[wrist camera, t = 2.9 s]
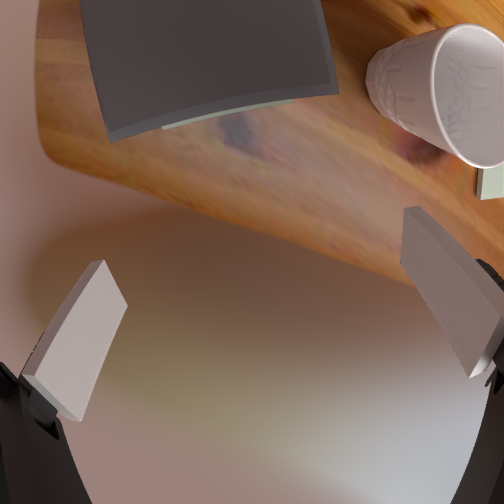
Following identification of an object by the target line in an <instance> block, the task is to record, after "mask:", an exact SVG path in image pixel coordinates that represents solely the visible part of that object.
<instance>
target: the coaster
mask: <svg viewBox="0 0 504 504" xmlns="http://www.w3.org/2000/svg"><path fill="white" fill-rule="evenodd" d="M476 197H477V198H478V199H480V200H484V199H492V198H500V197H504V163H503V164H501V165H500V166H497V167H494V168H490V169H482V168H479V169H478V182H477V192H476Z"/></svg>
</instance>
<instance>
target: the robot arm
mask: <svg viewBox="0 0 504 504" xmlns="http://www.w3.org/2000/svg"><path fill="white" fill-rule="evenodd" d="M400 264H401V265H402V267H403V268H404V270H405V271H406V273H407V274H408V276H409V277H410V279H411V280H412V282H413V283H414V285H415V286H416V288H417V289H418V291H419V292H420V294H421V296H422V297H423V299H424V300H425V302H426V303H427V305H428V307H429V308H430V310H431V311H432V313H433V315H434V316H435V318H436V320H437V321H438V323H439V325H440V326H441V328H442V330H443V332H444V333H445V335H446V337H447V339H448V340H449V342H450V344H451V346H452V348H453V349H454V351H455V353H456V355H457V357H458V358H459V361H460V362H461V364H462V366H463V368H464V370H465V372H466V374H467V376H468V378H471V377H473V376H475V375H477V374H479V373H482V372H484V371H485V370H486V369H487V368H488V366H489V364H490V362H491V361H492V359H493V361H494V363H495V364H496V367H495V369H494V371H493V372H492V374H491V375H490V377H489V378H488V380H487V382H486V384H485V386H486V387H487V386H488V385H489V383H490V382H491V386H490V391H489V396H488V400H487V404H486V408H485V412H484V416H483V419H482V423H481V427H480V430H479V433H478V437H477V440H476V443H475V446H474V448H473V452H472V454H471V457H470V460H469V463H468V465H467V467H466V470H465V473H464V475H463V477H462V480H461V482H460V484H459V487H458V489H457V491H456V493H455V495H454V497H453V499H452V502H451V504H504V280H503V279H502V277H501V276H499V274H498V273H497V272H496V271H495V270H494V269H493V268H492V267H491V266H490V265H489V264H487V263H486V262H484V261H482V260H481V259H476V260H475V259H474V258H473V257H472V256H471V255H470V254H469V253H468V252H467V251H466V250H465V249H464V248H463V247H462V246H461V245H460V244H459V243H458V242H457V241H456V240H455V239H454V238H453V237H452V236H451V235H450V234H449V233H448V232H447V231H446V230H445V229H444V228H443V227H442V226H441V225H440V224H439V223H437V222H436V221H435V220H434V219H433V218H432V217H431V216H430V215H429V214H428V213H426V212H425V211H424V210H423V209H422V208H421V207H420V206H414V207H407V208H404V215H403V233H402V246H401V257H400ZM126 308H127V304H126V302H125V300H124V298H123V296H122V294H121V293H120V291H119V289H118V287H117V285H116V283H115V281H114V279H113V277H112V275H111V273H110V271H109V269H108V267H107V265H106V263H105V260H99V261H95V262H91V264H90V265H89V266H88V268H87V269H86V270H85V272H84V273H83V274H82V276H81V277H80V279H79V280H78V282H77V283H76V284H75V286H74V287H73V289H72V290H71V292H70V293H69V295H68V296H67V298H66V299H65V301H64V302H63V304H62V305H61V307H60V308H59V310H58V311H57V313H56V315H55V316H54V318H53V319H52V321H51V323H50V324H49V326H48V327H47V329H46V331H45V332H44V333H43V334H42V336H41V338H40V339H39V341H38V344H37V345H36V346H35V348H34V349H33V352H32V353H31V355H30V357H29V358H28V360H27V362H26V364H25V366H24V368H23V370H22V372H21V373H20V375H19V377H18V379H17V378H16V377H15V376H14V375H13V373H12V372H11V371H10V370H9V369H8V368H7V367H6V366H5V364H4V363H2V362H0V504H92V502H91V500H90V498H89V496H88V494H87V492H86V489H85V487H84V485H83V482H82V480H81V478H80V475H79V473H78V470H77V468H76V465H75V463H74V460H73V457H72V455H71V452H70V449H69V446H68V443H67V440H66V437H65V434H64V431H63V428H62V424H61V422H60V420H59V419H58V418H57V417H56V414H57V412H58V411H59V412H60V413H61V414H62V415H63V416H65V417H66V418H67V419H69V420H74V421H80V422H81V421H82V419H83V416H84V413H85V410H86V407H87V404H88V401H89V398H90V396H91V393H92V390H93V388H94V385H95V382H96V380H97V377H98V375H99V372H100V369H101V367H102V364H103V361H104V359H105V357H106V354H107V352H108V350H109V347H110V345H111V342H112V340H113V337H114V335H115V333H116V330H117V328H118V326H119V324H120V321H121V319H122V317H123V314H124V313H125V310H126Z"/></svg>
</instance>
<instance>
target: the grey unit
mask: <svg viewBox="0 0 504 504" xmlns="http://www.w3.org/2000/svg"><path fill="white" fill-rule="evenodd" d="M80 8H81V15H82V22H83V28H84V34H85V40H86V45H87V51H88V56H89V61H90V66H91V70H92V75H93V79H94V84H95V88H96V92H97V96H98V100H99V104H100V108H101V112H102V116H103V119H104V123H105V127H106V130H107V134H108V137H109V141H110V144H111V143H114V142H116V141H119V140H122V139H125V138H128V137H131V136H134V135H137V134H140V133H143V132H146V131H149V130H152V129H156V128H159V127H162V129H163V130H165V129H169V128H172V127H176V126H180V125H183V124H187V123H191V122H195V121H199V120H203V119H207V118H212V117H216V116H221V115H225V114H230V113H235V112H240V111H245V110H250V109H256V108H262V107H268V106H274V105H281V104H288V103H294V101H293V99H296V98H304V97H313V96H323V95H335V94H339V91H338V85H337V78H336V73H335V67H334V61H333V56H332V51H331V46H330V41H329V36H328V32H327V27H326V23H325V18H324V14H323V10H322V6H321V2H320V0H80Z"/></svg>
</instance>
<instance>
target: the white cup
mask: <svg viewBox="0 0 504 504" xmlns="http://www.w3.org/2000/svg"><path fill="white" fill-rule="evenodd" d="M365 83H366V87H367V90H368V94H369V98H370V101H371V102H372V103H373V105H374V106H375V107H376V109H377V110H378V111H379V113H380V114H381V115H382V116H383V117H385V118H387V119H388V120H390V121H392V122H394V123H395V124H397V125H399V126H401V127H402V128H404V129H405V130H407V131H409V132H411V133H413V134H415V135H417V136H419V137H421V138H423V139H424V140H426V141H428V142H430V143H432V144H433V145H435V146H437V147H439V148H441V149H443V150H445V151H447V152H449V153H450V154H452V155H454V156H456V157H457V158H459V159H461V160H462V161H464V162H466V163H467V164H469V165H471V166H474V167H477V168H482V169H490V168H494V167H497V166H500V165H501V164H503V163H504V42H503V41H502V40H501V39H500V38H499V37H498V36H497V35H496V34H494V33H493V32H492V31H490V30H488V29H487V28H485V27H483V26H480V25H477V24H473V23H461V24H456V25H452V26H448V27H444V28H440V29H436V30H432V31H428V32H425V33H422V34H418V35H415V36H411V37H408V38H406V39H403V40H400V41H398V42H396V43H395V44H393V45H391V46H388V47H385V48H383V49H380V50H378V51H377V52H376V54H375V55H374V56H373V58H372V59H371V60H370V62H369V63H368V66H367V73H366V79H365Z"/></svg>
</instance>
